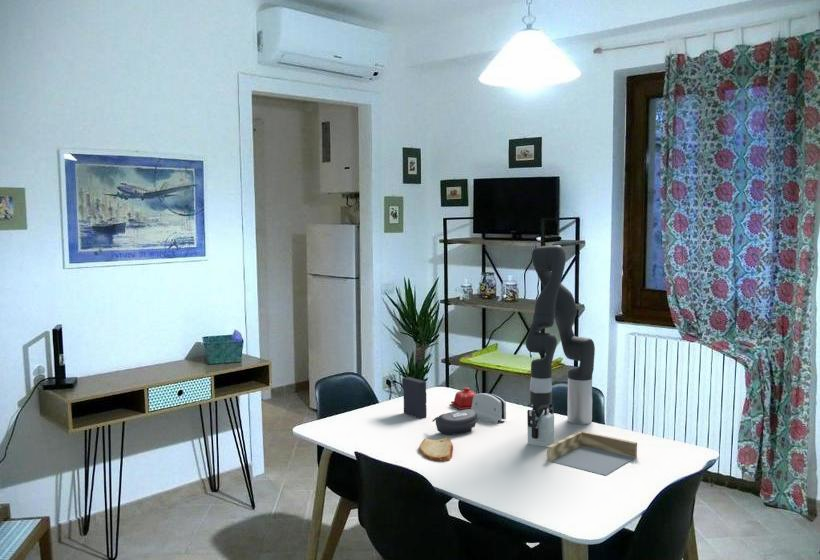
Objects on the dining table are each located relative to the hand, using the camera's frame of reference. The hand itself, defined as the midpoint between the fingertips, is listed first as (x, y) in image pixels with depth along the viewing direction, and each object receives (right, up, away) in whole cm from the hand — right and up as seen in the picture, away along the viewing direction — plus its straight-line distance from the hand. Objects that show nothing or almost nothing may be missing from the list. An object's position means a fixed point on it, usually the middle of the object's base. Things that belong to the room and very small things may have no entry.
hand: (540, 435), depth 242 cm
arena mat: (+14, -4, -17) cm, 23 cm away
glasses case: (-29, -2, +15) cm, 32 cm away
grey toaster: (-15, -1, +33) cm, 36 cm away
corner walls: (+14, -4, -16) cm, 22 cm away
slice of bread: (-36, -5, -7) cm, 37 cm away
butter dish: (-22, 0, +50) cm, 55 cm away
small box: (0, -3, 0) cm, 3 cm away
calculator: (-44, -1, +37) cm, 57 cm away
